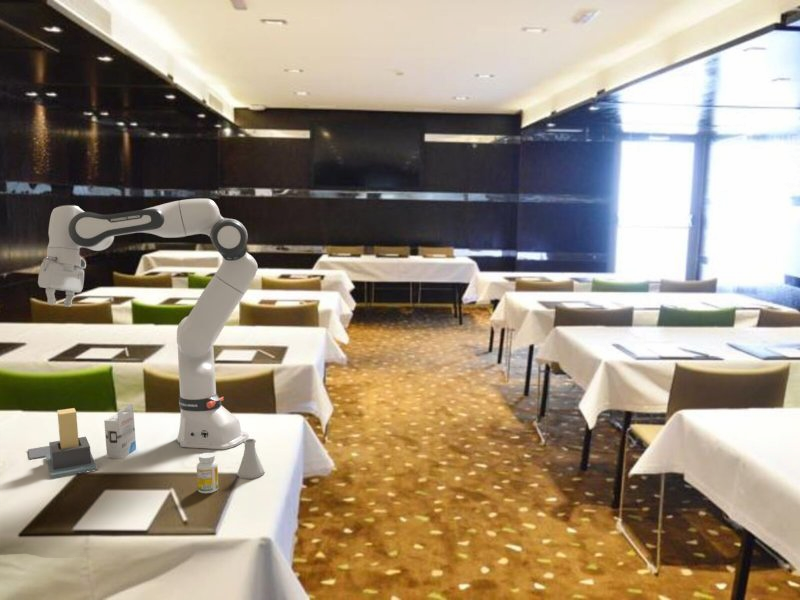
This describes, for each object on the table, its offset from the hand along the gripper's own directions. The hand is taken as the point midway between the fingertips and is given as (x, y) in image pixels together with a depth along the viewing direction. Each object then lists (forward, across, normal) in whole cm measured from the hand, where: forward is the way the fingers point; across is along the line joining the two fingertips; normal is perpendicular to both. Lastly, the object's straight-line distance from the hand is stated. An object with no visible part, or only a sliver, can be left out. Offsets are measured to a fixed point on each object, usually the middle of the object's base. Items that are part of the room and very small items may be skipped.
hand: (59, 305), depth 224 cm
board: (+46, -1, -7) cm, 47 cm away
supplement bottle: (+49, -18, -53) cm, 74 cm away
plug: (+44, -1, -7) cm, 45 cm away
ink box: (+44, +8, -18) cm, 48 cm away
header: (+46, -1, -7) cm, 47 cm away
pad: (+45, +8, +6) cm, 46 cm away
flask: (+46, -7, -62) cm, 77 cm away
